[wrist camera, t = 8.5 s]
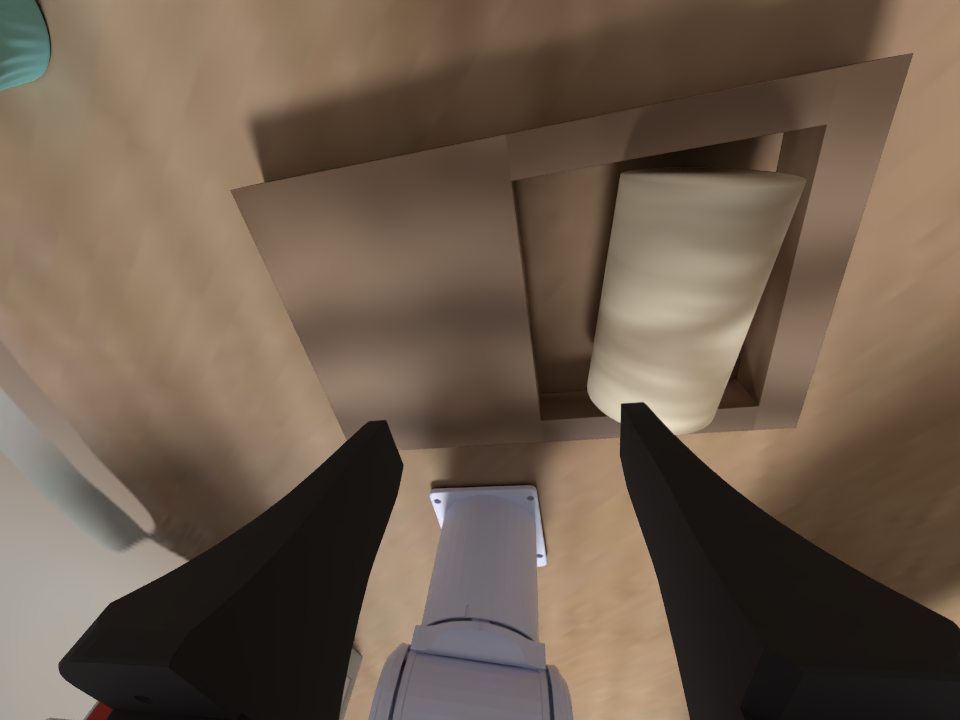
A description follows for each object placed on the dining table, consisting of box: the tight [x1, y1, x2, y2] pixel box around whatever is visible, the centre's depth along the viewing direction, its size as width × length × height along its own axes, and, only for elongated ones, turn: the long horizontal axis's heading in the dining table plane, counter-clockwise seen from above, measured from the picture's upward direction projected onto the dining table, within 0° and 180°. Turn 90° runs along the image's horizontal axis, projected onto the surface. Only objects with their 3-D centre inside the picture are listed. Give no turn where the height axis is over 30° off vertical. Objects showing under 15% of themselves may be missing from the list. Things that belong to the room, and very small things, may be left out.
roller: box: [587, 168, 807, 435], centre depth 17 cm, size 10×6×6 cm
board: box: [231, 53, 913, 450], centre depth 19 cm, size 16×25×2 cm, turn 100°
